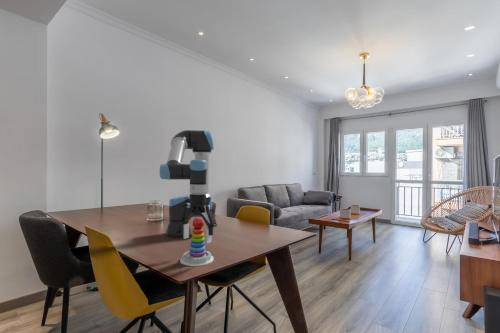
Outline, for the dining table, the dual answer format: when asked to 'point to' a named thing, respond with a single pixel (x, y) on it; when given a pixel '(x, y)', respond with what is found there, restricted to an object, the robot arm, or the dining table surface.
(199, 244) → the stacking toy
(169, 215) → the robot arm
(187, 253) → the collar base
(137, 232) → the dining table surface
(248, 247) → the dining table surface
